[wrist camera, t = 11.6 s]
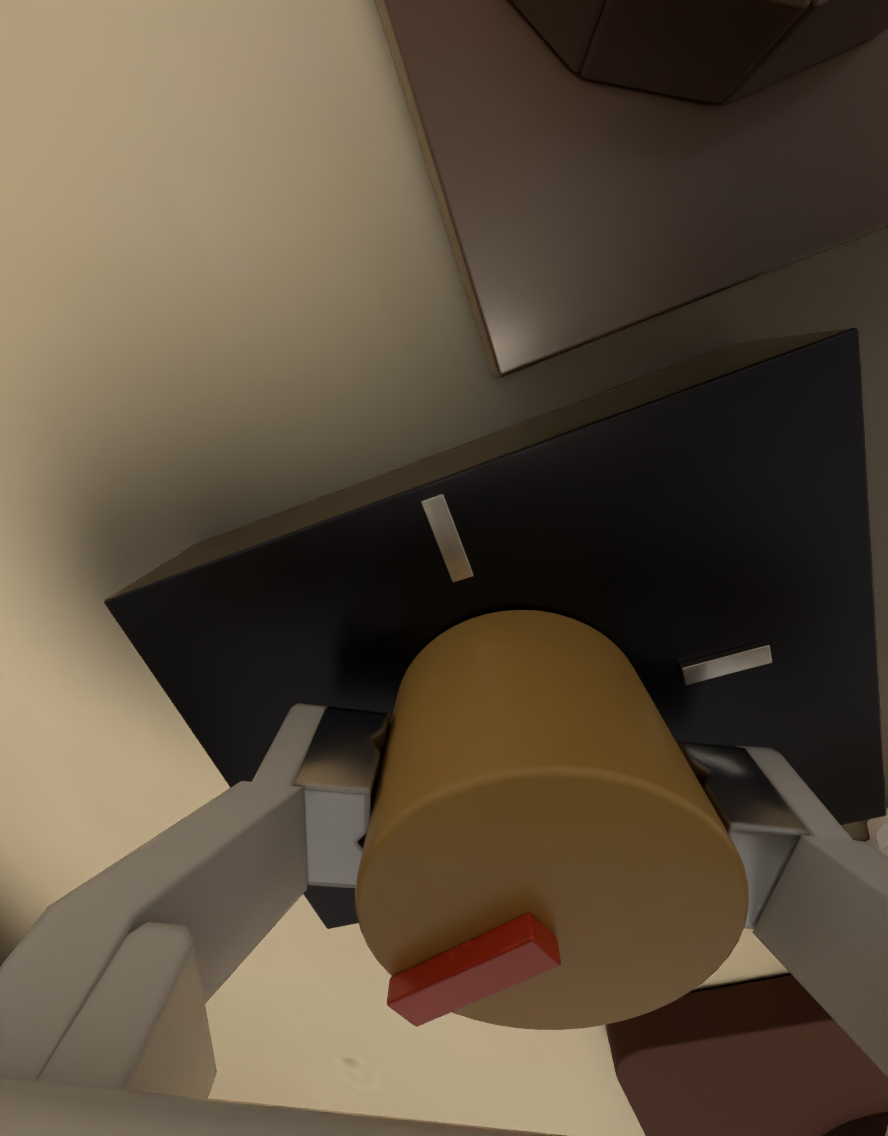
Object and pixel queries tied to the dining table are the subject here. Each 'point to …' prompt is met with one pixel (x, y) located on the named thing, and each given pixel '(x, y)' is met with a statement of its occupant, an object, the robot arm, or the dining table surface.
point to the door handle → (747, 1066)
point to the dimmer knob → (540, 837)
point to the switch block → (638, 150)
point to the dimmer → (570, 571)
